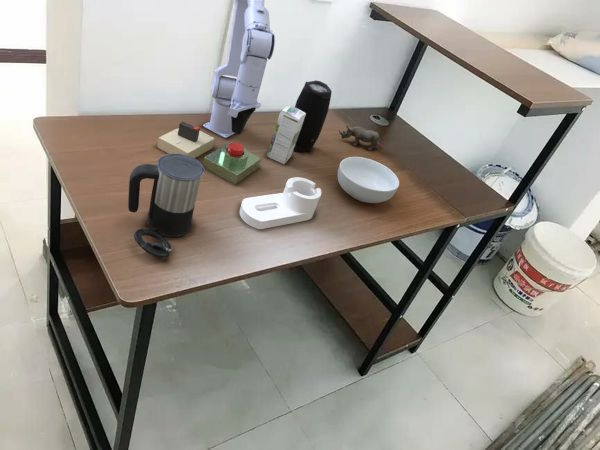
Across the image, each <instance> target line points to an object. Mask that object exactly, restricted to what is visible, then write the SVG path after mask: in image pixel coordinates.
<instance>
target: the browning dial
mask: <svg viewBox="0 0 600 450" xmlns="http://www.w3.org/2000/svg"><path fill="white" fill-rule="evenodd" d="M178 128H179V130H178V136H181V137H183V138H186V139H188V140H190V141H193V142H196V141H197V140H198V136H199V131H201V128H200V127H198V126H194V125H192V124H190V123H187V122H185V121H181V122H179V125H178Z"/></svg>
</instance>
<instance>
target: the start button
mask: <svg viewBox="0 0 600 450" xmlns="http://www.w3.org/2000/svg"><path fill="white" fill-rule="evenodd" d="M228 143H229V142H228ZM244 148H245V146H243V144H241V143H239V142H234V141H233V142H231V143H229V145H228V149H227V152H228V153H229V154H231V155H234V156H242V155H243V151H244Z"/></svg>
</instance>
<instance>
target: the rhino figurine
mask: <svg viewBox="0 0 600 450" xmlns="http://www.w3.org/2000/svg"><path fill="white" fill-rule="evenodd" d="M346 128H347V129H346V131H345V130H342V131H341V130H338V133H339V135H340V136H341V139H342V140H343V139H349V138H351V137H354V138H355V139H354V141H353V143H352V146H354V147H357V146H358V144H359V143H360V141H361V142H363V143H370V145H369V146H368V147H367V150H368V151H372V150H373V149H377V146H378V144H379V143H378V142H379V140H380V134H379V132H378V131H375V130H372V129H369V130H368V129H365V128H363V127H361V126H351V127H350V126H349V125H348V124H346Z"/></svg>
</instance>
